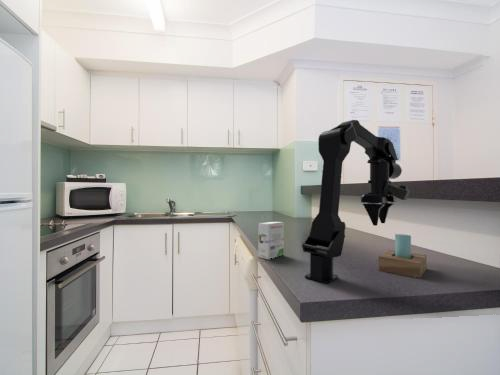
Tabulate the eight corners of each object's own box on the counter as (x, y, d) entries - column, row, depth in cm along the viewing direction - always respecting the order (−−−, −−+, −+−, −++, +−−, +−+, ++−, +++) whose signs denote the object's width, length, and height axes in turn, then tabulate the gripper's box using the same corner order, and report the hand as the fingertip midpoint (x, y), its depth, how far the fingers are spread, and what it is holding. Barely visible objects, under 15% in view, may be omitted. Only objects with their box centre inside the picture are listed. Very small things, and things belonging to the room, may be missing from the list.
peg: (409, 272, 71) (409, 236, 72) (393, 269, 74) (393, 235, 74) (412, 269, 74) (412, 235, 75) (396, 266, 77) (396, 233, 77)
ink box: (273, 253, 92) (273, 220, 92) (284, 255, 89) (284, 222, 89) (257, 257, 86) (257, 222, 86) (268, 260, 83) (268, 223, 83)
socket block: (420, 278, 66) (420, 263, 66) (378, 270, 73) (378, 256, 73) (426, 268, 75) (426, 255, 75) (389, 262, 82) (389, 249, 82)
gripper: (400, 174, 72) (400, 229, 72) (412, 178, 86) (412, 224, 86) (360, 176, 80) (360, 225, 79) (377, 179, 94) (377, 221, 93)
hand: (379, 224), depth 84 cm, fingers open, 9 cm apart
